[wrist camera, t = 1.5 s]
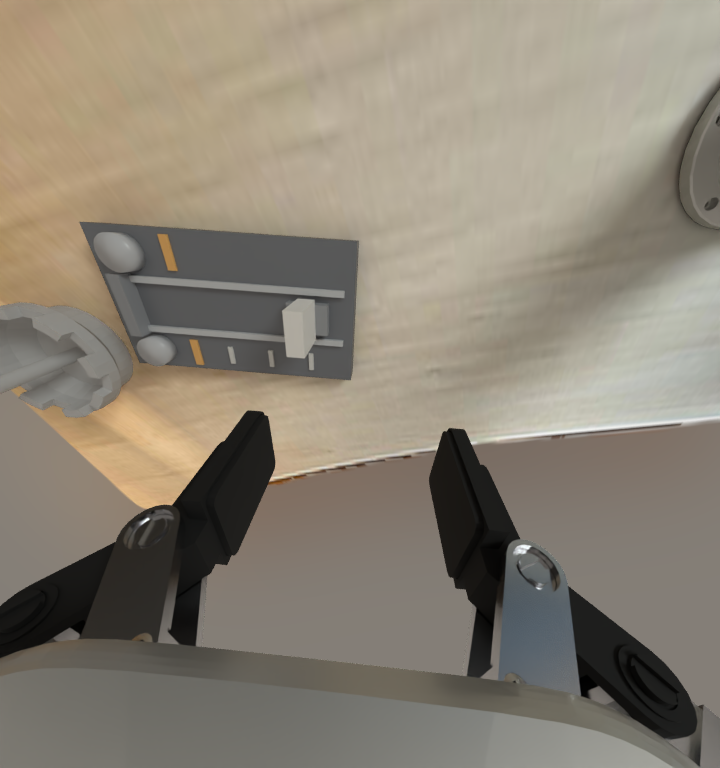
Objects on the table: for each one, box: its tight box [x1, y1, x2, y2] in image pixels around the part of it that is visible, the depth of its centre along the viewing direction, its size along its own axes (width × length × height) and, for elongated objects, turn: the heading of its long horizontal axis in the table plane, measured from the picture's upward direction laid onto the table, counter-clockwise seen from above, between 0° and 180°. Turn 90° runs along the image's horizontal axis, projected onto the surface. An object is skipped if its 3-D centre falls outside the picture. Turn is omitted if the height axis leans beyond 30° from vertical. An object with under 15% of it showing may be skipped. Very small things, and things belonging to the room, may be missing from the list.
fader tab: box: [282, 299, 329, 358], centre depth 23 cm, size 4×4×6 cm
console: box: [80, 222, 359, 380], centre depth 26 cm, size 25×14×4 cm, turn 87°
